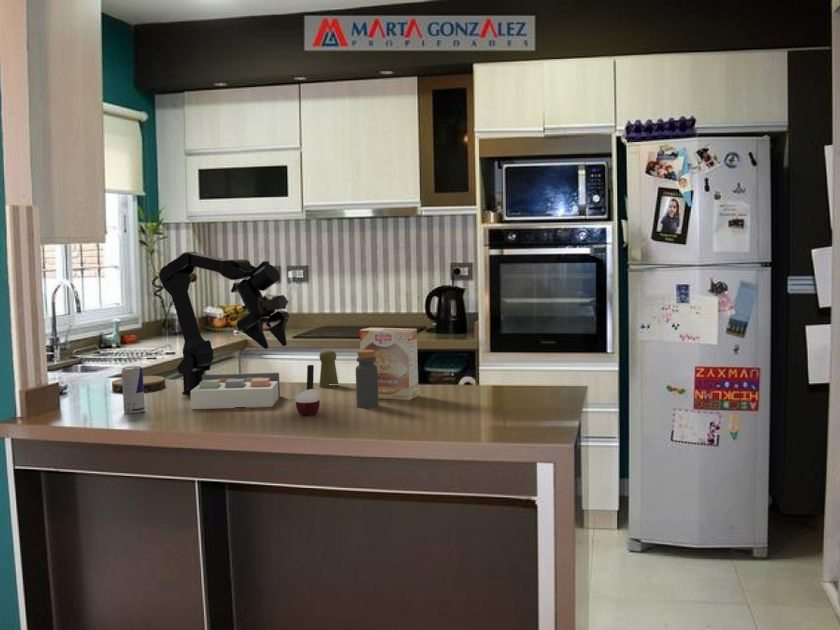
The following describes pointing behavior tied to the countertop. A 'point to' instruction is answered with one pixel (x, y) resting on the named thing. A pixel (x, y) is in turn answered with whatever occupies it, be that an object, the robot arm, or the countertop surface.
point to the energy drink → (133, 389)
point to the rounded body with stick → (308, 396)
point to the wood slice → (148, 382)
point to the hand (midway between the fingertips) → (276, 346)
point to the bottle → (366, 380)
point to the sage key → (210, 384)
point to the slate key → (235, 383)
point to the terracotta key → (260, 382)
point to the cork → (328, 369)
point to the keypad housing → (236, 392)
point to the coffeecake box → (393, 360)
